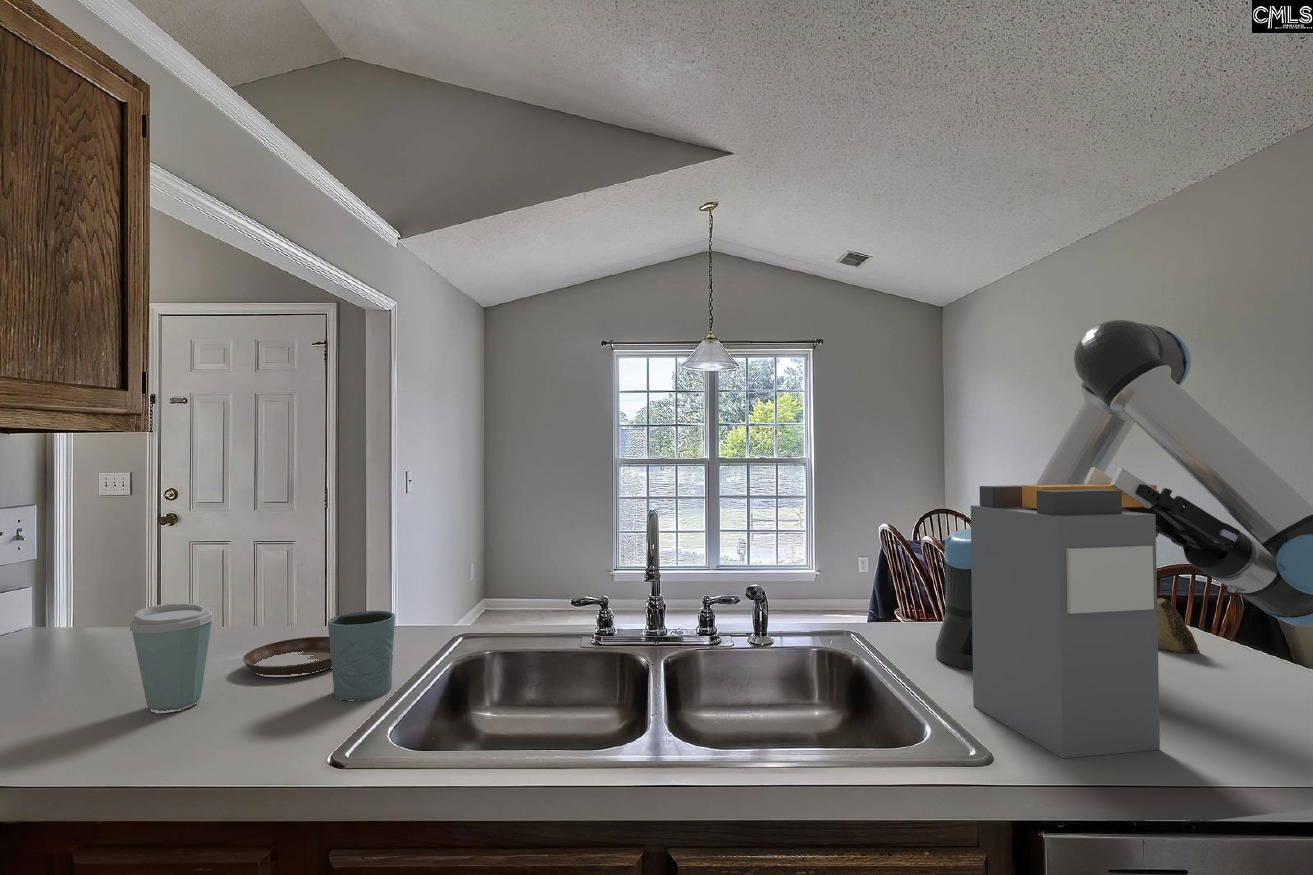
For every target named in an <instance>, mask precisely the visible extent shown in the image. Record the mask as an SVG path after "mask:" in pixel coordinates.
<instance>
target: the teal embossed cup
mask: <svg viewBox="0 0 1313 875" xmlns="http://www.w3.org/2000/svg"><path fill="white" fill-rule="evenodd" d="M395 628H396V614H395V613H394V612H392V611H387V610H367V611H366V610H365V611H356V612H351V613H345V614H343V613H342V614H341V615H336V616H334V617H330V619H328V620H327V631H328V637H329V639H330V653H331V662H332V668H331V672H332V673H331V674H332V681H333V695H334V698H335V697H336V698H338V699H341V700H362V701H368V699H369V700H372V699H371V698H374V699H376V697H377V698H379V697H378V696H380V697H382V696H384V695H387V694H388V693H390V691H391V690H392V686H393V675H392V674H393V660H394V659H393V658H394V655H393V653H394V639H395V638H394V637H395ZM386 693H387V694H386ZM336 698H335V699H336ZM338 699H337V700H338ZM341 700H340V701H341Z"/></svg>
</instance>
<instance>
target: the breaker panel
mask: <svg viewBox="0 0 1313 875" xmlns="http://www.w3.org/2000/svg"><path fill="white" fill-rule="evenodd" d="M1024 485H1025V484H1023V485H1022V484H1021V485H1020V484H1019V485H1018V484H1017V485H979V505H977V504H976V505H970V529H971V572H972V643H973V671H972V692H973V693H972V694H973V695H972V696H973V697H972V701H973V703H972V706H973V707H974V708H976V709H977V710H980V711H981V712H983V713H984V714H986V715H988V716H989V717H991V718H993V719H994V720H996V721H998V722H1000V723H1001V724H1003V725H1005V726H1006V727H1008V728H1010V729H1011V730H1013V731H1015V732H1017V733H1018V734H1020V735H1022V736H1024V738H1027V739H1029V740H1031V741H1032V742H1033V743H1035V744H1037V745H1039V746H1041V747H1042V748H1044V749H1045V750H1047V751H1049V752H1051V753H1052V754H1054V755H1056V756H1058V758H1059V757H1060V758H1061V759H1071V758H1084V757H1093V756H1102V755H1103V756H1105V755H1114V754H1124V753H1125V754H1126V753H1136V752H1138V753H1139V752H1148V751H1159V750H1161V745H1160V744H1161V742H1160V732H1161V731H1160V686H1159V676H1160V675H1159V648H1158V623H1157V600H1158V585H1157V584H1158V583H1157V578H1158V577H1157V537H1156V517H1155V514H1148V513H1138V512H1129V511H1122V491H1120V490H1105V489H1096V490H1040V491H1036V492H1037V508H1029V507H1022V486H1024Z"/></svg>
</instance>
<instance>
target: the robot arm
mask: <svg viewBox="0 0 1313 875" xmlns="http://www.w3.org/2000/svg"><path fill="white" fill-rule="evenodd" d="M1190 353H1191V352H1190V350H1189V347H1188V346H1187V344H1186V343H1185V342H1184V340H1183V339H1182V338H1180V336H1179V335H1177V334H1175V333H1174V332H1171V331H1170V330H1167V329H1165V328H1163V327H1162V326H1161V327H1160V326H1158V325H1157V326H1156V325H1154V324H1153V325H1152V324H1145V323H1141V322H1137V321H1136V322H1135V321H1132V320H1126V319H1113V320H1108V321H1104V322H1102V323H1099V324H1097V325H1095V326H1093V327H1092V328H1090V329H1089V330H1087V332H1086V333H1084V334H1083V336H1082V337H1081V338H1080V340H1079V341H1078V342H1077V345H1076V347H1075V350H1074V354H1073V355H1074V356H1073V360H1074V367H1075V370H1076V373H1077V375H1078V377H1079V378H1080V379H1081V381H1082V382H1081V384H1080V387H1079V388H1080V391H1081V393H1082V396H1083V400H1082V402H1081V404H1080V406H1079V408H1078V409H1077V411H1076V413H1075V415H1074V417H1073V418H1072V420H1071V421H1070V424H1069V425H1068V427H1067V429H1066V430H1065V432H1064V434H1063V436H1062V437H1061V440H1060V441H1059V443H1058V444H1057V447H1056V448H1055V450H1054V452H1053V453H1052V456H1050V459H1049V460H1048V462H1047V463H1046V465H1045V468H1044V469H1043V471H1042V473H1041V474H1040V476H1039V479H1037V481H1036V483H1035V485H1085V484H1110V485H1111V486H1113V487H1115V488H1116V489H1118V490H1120V491H1122V492H1123V493H1124V494H1126V495H1127V496H1129V497H1130V498H1132V499H1133V500H1135V501H1136V502H1138V503H1139V504H1141V505H1143V506H1144V507H1122V511H1129V512H1138V513H1148V514H1155V517H1156V538H1157V537H1158V536H1159V534H1160V535H1161V536H1163V537H1164V538H1165V537H1166V538H1168V539H1169V540H1170V541H1171V542H1172V543H1173V544H1175V545H1177V546H1179V547H1181V548H1182V549H1183V553H1184V554H1183V555H1184V558H1185V559H1186V561H1187V562H1188V563H1189V564H1190V565H1191V566H1193V567H1195V569H1198V570H1200V571H1201V572H1203V573H1204V574H1206V575H1208V576H1210V577H1211V578H1213V579H1214V580H1216V581H1218V582H1219V583H1221V584H1222V585H1224V586H1226V587H1227V588H1226V589H1227V591H1228V592H1229V593H1233V594H1234V593H1236V594H1239V596H1241V597H1243V598H1245V599H1246V600H1247V601H1248V602H1251V603H1252V604H1253V605H1255V606H1257V608H1259V609H1260V610H1262V612H1264V613H1266V614H1267V615H1269V616H1272V617H1274V618H1276V619H1277V620H1279V621H1282V622H1283V623H1286V624H1289V625H1292V626H1296V627H1308V626H1313V504H1312V503H1310V501H1308V500H1307V499H1306V498H1305V497H1304V496H1303V495H1302V494H1300V492H1298V491H1297V490H1296V489H1295V488H1294V487H1293V486H1291V484H1290V483H1289V482H1287V481H1286V480H1285V479H1284V478H1283V477H1282V476H1281V475H1280V474H1278V473H1277V472H1276V471H1275V470H1274V469H1273V468H1271V466H1269V465H1268V463H1266V462H1264V460H1263V459H1261V457H1259V456H1258V455H1257V453H1255V452H1254V451H1253V450H1252V449H1251V448H1249V447H1248V446H1247V445H1246V444H1245V443H1244V442H1243V441H1241V440H1240V439H1239V438H1238V436H1236V435H1235V434H1234V433H1232V432H1231V431H1230V430H1229V429H1228V428H1227V427H1226V426H1225V425H1224V424H1223V423H1221V422H1220V421H1219V419H1217V418H1216V417H1215V416H1213V415H1212V414H1211V413H1210V412H1209V411H1208V410H1207V409H1206V408H1205V407H1203V405H1201V404H1200V403H1199V402H1198V401H1197V400H1196V399H1195V398H1193V397H1192V395H1191V394H1189V393H1188V392H1187V391H1185V390H1184V389H1183V388H1182V387H1181V385H1182V384H1183V383H1184V381H1185V380H1186V379H1187V377H1188V374H1189V372H1190V370H1191V365H1192V364H1191V363H1192V362H1191V361H1192V358H1191V354H1190ZM1135 424H1136V425H1137V426H1139V428H1140V429H1142V431H1144V432H1145V433H1146V434H1147V435H1148V436H1149V437H1150V438H1151V439H1152V440H1153V441H1154V442H1155V443H1156V444H1157V445H1158V446H1159V447H1160V448H1161V449H1162V450H1163V451H1164V452H1165V453H1166V454H1167V455H1168V456H1169V457H1170V458H1171V459H1172V460H1173V461H1174V462H1175V463H1176V464H1177V465H1179V467H1181V468H1182V469H1183V471H1185V472H1186V473H1187V474H1188V475H1189V477H1191V478H1192V479H1193V480H1194V481H1195V483H1197V484H1198V485H1199V486H1200V487H1201V488H1202V489H1203V490H1205V492H1206V493H1207V494H1208V495H1210V497H1211V498H1213V499H1214V501H1216V502H1217V503H1218V505H1220V506H1221V507H1222V508H1223V509H1224V510H1225V511H1226V512H1227V513H1228V514H1229V515H1230V516H1231V517H1232V518H1233V520H1235V521H1236V522H1237V523H1238V524H1239V525H1240V526H1242V528H1243V529H1245V530H1246V532H1248V533H1249V534H1250V536H1252V537H1253V538H1251V537H1249V536H1247V535H1246V534H1244V533H1243V532H1242V531H1241V530H1239V529H1238V528H1236V527H1234V526H1232V525H1230V524H1228V523H1226V522H1223V521H1221V520H1220V519H1218V518H1217V517H1215V516H1213V515H1212V514H1210V513H1209V512H1207V511H1205V510H1204V509H1202V508H1201V507H1199V506H1197V505H1196V504H1195V503H1193V502H1191V501H1189V500H1188V499H1186V498H1185V497H1183V496H1180V495H1176V496H1175V497H1174V498H1173V497H1172V496H1171V494H1172V492H1173V490H1172V489H1170V488H1166V487H1163V488H1162V490H1161V492H1159V490H1158V489H1157V490H1156V489H1154V488H1153V487H1151V486H1150V485H1151V484H1149V483H1146V482H1145V481H1144V480H1142V479H1141V478H1139V477H1137V476H1136V475H1135V474H1132V473H1131V472H1129V471H1128V470H1126V469H1124V468H1123V467H1118V468H1117V469H1116V472H1115V473H1114V475H1113V477H1111V476H1110V475H1108V474H1106V473H1105V472H1106V471H1107V469H1108V467H1109V466H1110V464H1111V462H1112V461H1113V459H1114V458H1115V456H1116V454H1117V452H1118V451H1119V450H1120V448H1121V446H1122V444H1123V443H1124V441H1125V440H1126V438H1127V436H1128V435H1129V433H1130V432H1131V429H1132V428H1133V426H1134V425H1135ZM1152 505H1154V507H1151V506H1152ZM1254 539H1255V540H1254ZM943 560H944V599H945V601H944V602H945V605H944V606H945V609H944V610H945V611H944V613H945V614H944V618H943V621H942V625H941V628H940V631H939V634H938V637H937V640H936V642H935V658H936V659H937V660H939V661H940V662H941V663H944V664H946V665H948V666H951V667H955V668H958V669H962V670H966V671H967V670H968V671H972V672H973V643H972V572H971V528H966V529H960V530H957V531H954V532H952V533H950V534H949V535H948V536H946V538H945V541H944V551H943Z"/></svg>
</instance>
